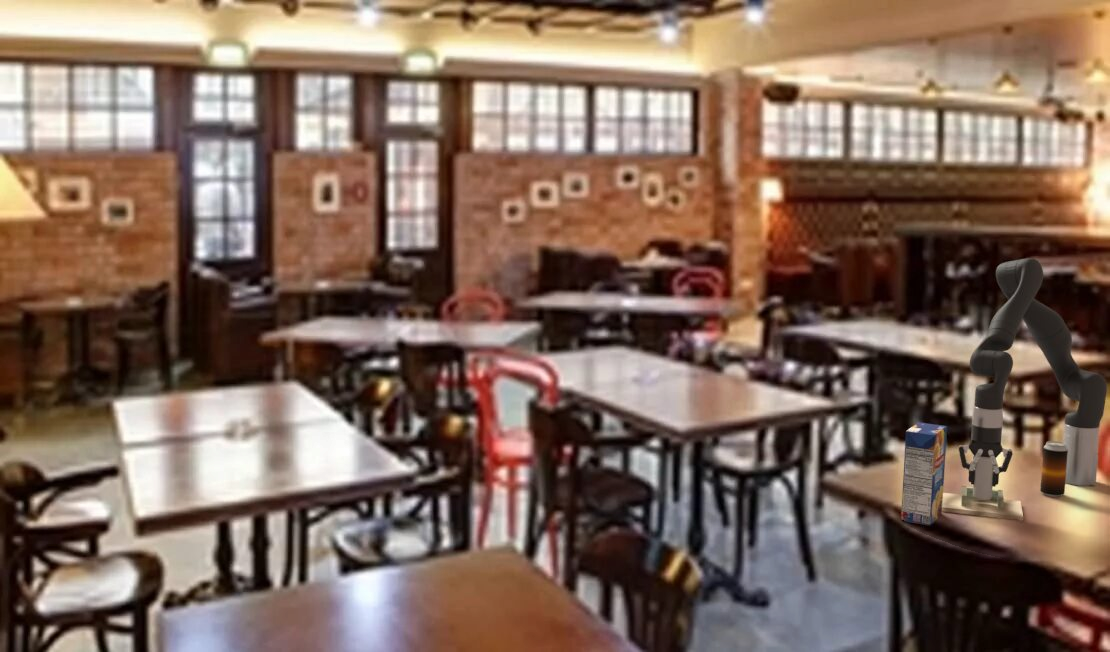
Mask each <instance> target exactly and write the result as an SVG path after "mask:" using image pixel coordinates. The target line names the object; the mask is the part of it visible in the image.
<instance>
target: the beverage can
mask: <svg viewBox="0 0 1110 652" xmlns="http://www.w3.org/2000/svg"><path fill="white" fill-rule="evenodd" d="M1067 455H1068V449H1067V447H1066V444H1065V443H1063V441H1062V442H1061V441H1055V440H1048V441H1046V443H1045V445H1044V446H1043V450H1042V466H1041V474H1040V475H1041V477H1040V478H1041V479H1040V493H1042V494H1043V495H1044V496H1046V497H1053V498H1061V496H1063V495H1065V492H1066V491H1065V488H1066V483H1065V480H1066V467H1067Z"/></svg>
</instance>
